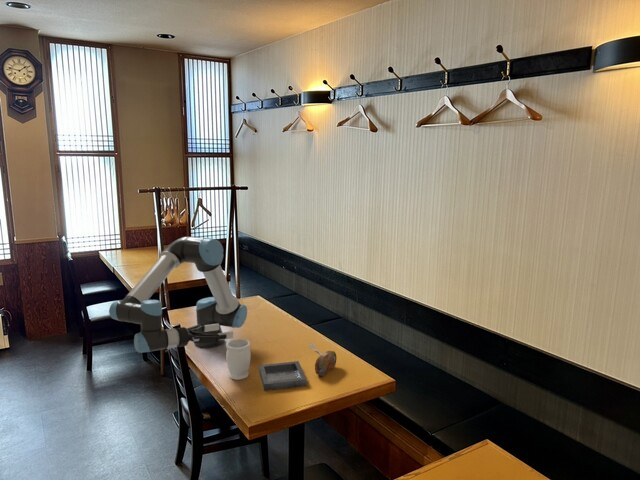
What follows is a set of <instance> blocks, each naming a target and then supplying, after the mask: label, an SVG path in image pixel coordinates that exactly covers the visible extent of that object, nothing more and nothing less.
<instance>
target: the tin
mask: <svg viewBox="0 0 640 480" xmlns="http://www.w3.org/2000/svg"><path fill="white" fill-rule="evenodd" d="M336 363H337V354H336V351H335V350H334V351H332V350H326V351H325V352H324V353H323V354H322V355H319V356H318V357H317V359H316V361H315V364H314V370H315V374H316V375H318V376H321V377H324V376H325V375H327V374H328V373H330V372H331V371H333V369H334V368H335V366H336Z"/></svg>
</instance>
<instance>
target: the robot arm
mask: <svg viewBox="0 0 640 480" xmlns="http://www.w3.org/2000/svg"><path fill="white" fill-rule="evenodd" d="M224 251H225V250H224V247H223V245H222V243H221V242H220V241H219V240H218V239H215V238H211V237H199V236H197V237H196V236H182V237H180V238H178V239H175V240H174V241H172V242H171V243H169V244H168V245H167V246H166V247H165V248H164V249H163V250H162V252H160V254H159V255H160V256H159V258H158V259H157V260H156V262H155V263H154V264H153V265H152V266H151V267H150V269H149V270H148V271H147V272H146V273H145V274H144V275H143V276H142V278H141V279H140V280H139V281H138V282H137V284H135V285H134V286H133V288H132V289H131V290H130V291H129V292H128V293H127V294H126V295H125V297H124V298H123V299H122V300H115V301H113V302H112V303H111V305H109V308H108V314H109V316H110V318H111V319H113V320H115V321H119V322H126V323H132V324H137V325H140V332H137V333H135V334H134V338H133V345H134V346H133V347H134V349H135V351H136V352H137V353H140V354H141V353H150V352H151V353H152V352H156V351H162V350H168V351H170V350H171V349H174V348H182V347H186V346H188V344H189V342H193V344H194V345H195V346H196V347H200V348H208V349H209V348H215V347H218V346H222V345H223V344H224V342H225V340H230V339H231V340H232V339H234V331H233V330H232V331H225V332H223V329H222V328H221V326H223V327H228V328H233V329H235V328H237V329H239V328H242V327H243V326H244V324H245V322H246V320H247V317H248V307H247V306H246V305H245V304H243V303H242V304H241V303H240V302H239V298H237V297H236V296H234V295H233V293H232V290H231V287H230V285H229V282H228V281H227V277H226V276H225V273H224V271H223V268H222V266H221V265H222V262H223V259H224ZM184 263H191V264H194V265H195V268H196V270H197V271H199V272H200V273H202V274H203V276H204V279H205V280H206V284H207V285H208V288H209V290H210V292H211V294H212V296H208V297H204V298H201V299H199V300H198V301H196V307H195V308H196V309H195V311H196V325H194V326H189V327H185V326H182V327H176V328H166V329H162V326H163V324H162V323H163V308H162V307H163V306H162V301H160V300H158V299H151V297H152V296H153V295H154V294H155V292H156V291H157V290H158V289H159V288H160V286H161V285H162V284H163V282H165V280H166V279H167V278H168V276H169V275H170V274H171V273H172V272H173V270H174V269H177V268H179V267H180V265H182V264H184Z"/></svg>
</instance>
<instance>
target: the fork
mask: <svg viewBox="0 0 640 480" xmlns="http://www.w3.org/2000/svg"><path fill="white" fill-rule="evenodd" d="M308 345H309V348H310V349H311V350H315V352H317V353H318V354H319V356H321V355H323V354H322V353H321V352H320V351H319V350H318V348H317V347H316V345H315V343H314V342H311V343H308Z"/></svg>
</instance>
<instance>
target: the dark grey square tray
mask: <svg viewBox="0 0 640 480" xmlns="http://www.w3.org/2000/svg"><path fill="white" fill-rule="evenodd" d="M258 373H259V376H260V377H259V378H260V380H261V384H262V388H263V391H264V392H269V391H276V390H285V389H291V388H292V389H294V388H301V387H308V379H307V376H306V374H305V372H304V369H303V368H302V366H301V364H300V362H299V360H296V361H295V360H294V361H286V362H278V363H276V362H275V363H268V364H258Z"/></svg>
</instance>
